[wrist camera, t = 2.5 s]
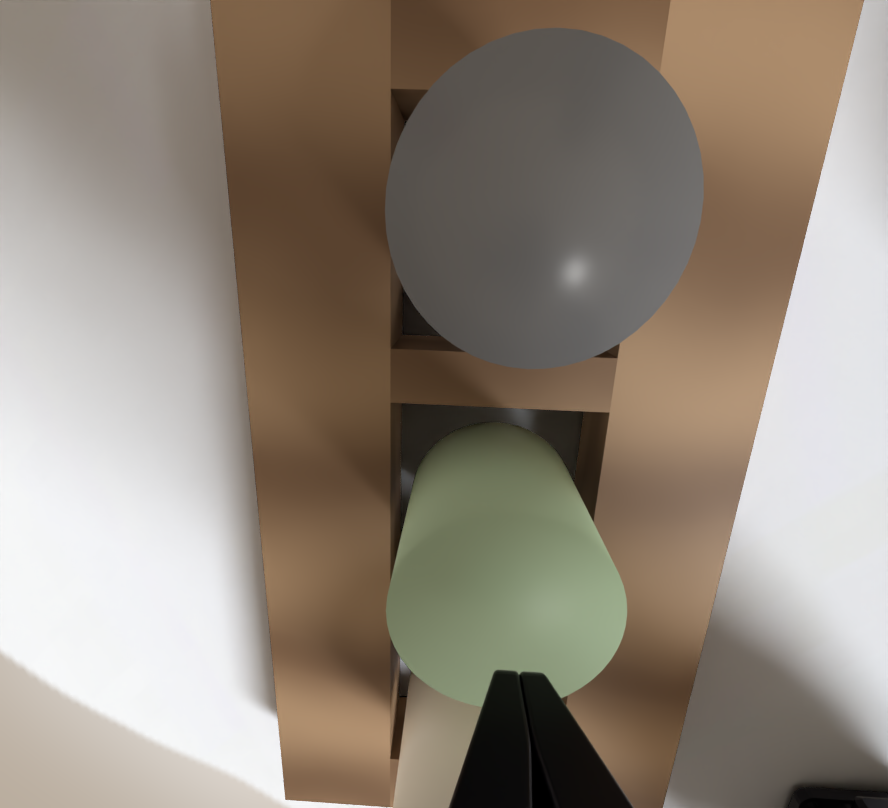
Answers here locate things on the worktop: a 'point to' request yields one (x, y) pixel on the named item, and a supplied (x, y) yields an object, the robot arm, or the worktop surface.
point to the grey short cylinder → (544, 198)
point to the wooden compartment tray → (491, 385)
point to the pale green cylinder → (501, 568)
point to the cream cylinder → (432, 746)
